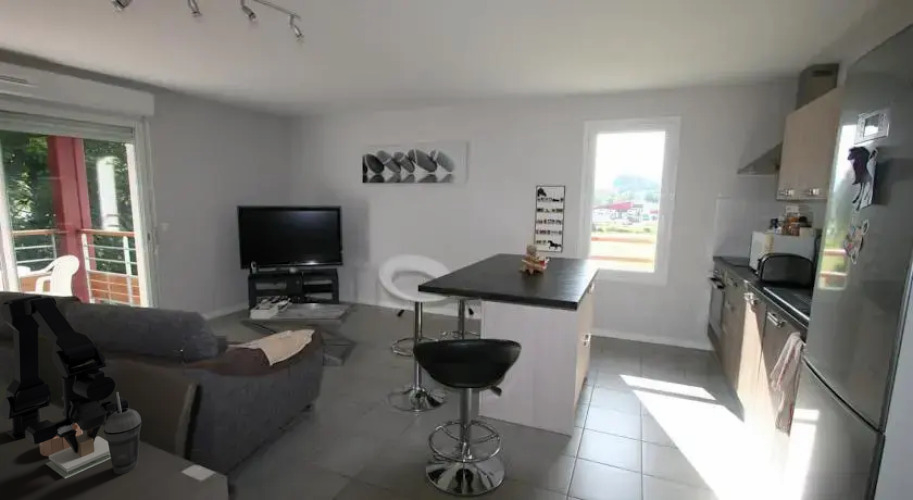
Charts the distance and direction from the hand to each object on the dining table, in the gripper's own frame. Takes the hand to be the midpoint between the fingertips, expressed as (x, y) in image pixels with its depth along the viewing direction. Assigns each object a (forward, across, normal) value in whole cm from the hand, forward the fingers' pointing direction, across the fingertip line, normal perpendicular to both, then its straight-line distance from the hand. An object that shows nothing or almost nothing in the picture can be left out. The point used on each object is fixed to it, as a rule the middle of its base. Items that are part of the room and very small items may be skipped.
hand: (83, 449), depth 103 cm
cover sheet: (+1, 0, 0) cm, 1 cm away
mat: (+3, 0, 0) cm, 3 cm away
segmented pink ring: (+3, 0, +11) cm, 11 cm away
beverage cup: (+3, +3, -13) cm, 14 cm away
